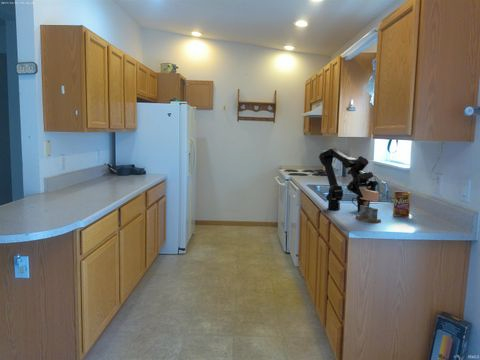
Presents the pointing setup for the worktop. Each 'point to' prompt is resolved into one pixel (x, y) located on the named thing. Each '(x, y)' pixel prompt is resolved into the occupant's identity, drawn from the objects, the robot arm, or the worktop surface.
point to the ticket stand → (368, 214)
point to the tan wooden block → (370, 195)
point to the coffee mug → (361, 202)
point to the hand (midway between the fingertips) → (368, 197)
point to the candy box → (401, 204)
